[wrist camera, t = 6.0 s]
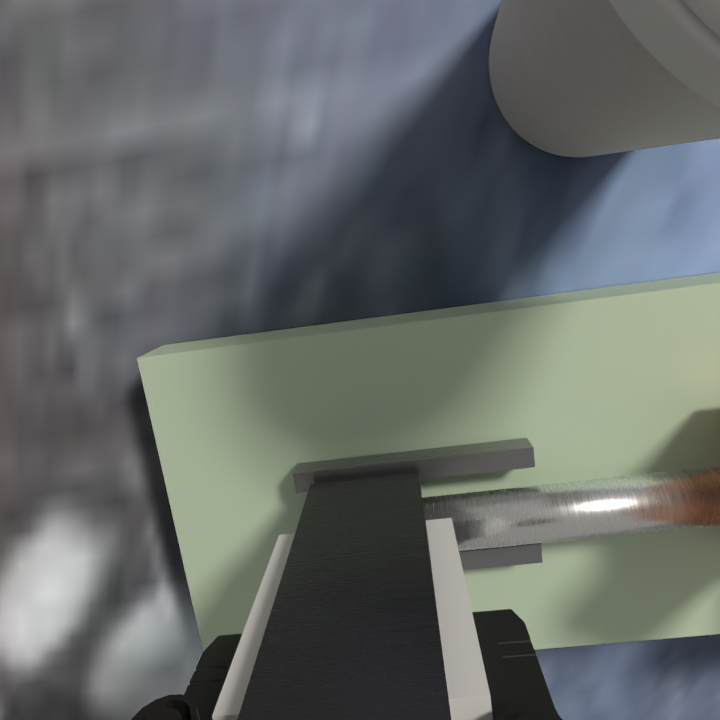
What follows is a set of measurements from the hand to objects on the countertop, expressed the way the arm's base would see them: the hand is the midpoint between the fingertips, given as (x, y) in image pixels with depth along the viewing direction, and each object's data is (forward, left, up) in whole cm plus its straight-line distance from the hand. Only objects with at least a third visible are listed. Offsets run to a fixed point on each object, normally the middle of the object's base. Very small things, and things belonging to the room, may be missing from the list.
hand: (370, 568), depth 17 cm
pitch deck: (+4, 0, -6) cm, 7 cm away
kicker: (+6, 0, -3) cm, 7 cm away
